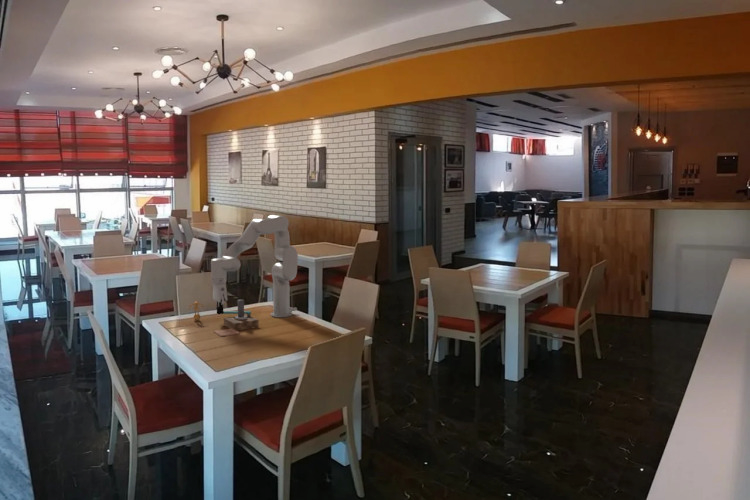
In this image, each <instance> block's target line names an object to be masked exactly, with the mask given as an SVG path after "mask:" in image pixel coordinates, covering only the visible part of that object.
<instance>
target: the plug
mask: <svg viewBox="0 0 750 500" xmlns="http://www.w3.org/2000/svg"><path fill="white" fill-rule="evenodd" d="M237 311H238V314H237V315H235V316H236V317H235V316H234V317H235V319H236V320H237V321H241V320H245V319H247V316H244V315H245V314H244V311H245V300H244V299H237Z"/></svg>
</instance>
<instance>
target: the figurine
mask: <svg viewBox="0 0 750 500" xmlns="http://www.w3.org/2000/svg"><path fill="white" fill-rule="evenodd" d="M191 306H194V307H193V309H194V314H193V320H194V321H196V322H197V321H200V319H201V314H200V313H199V312H200V306H201V307H202V308H203V309H205V307H204V306H203V304H202V303H199V302H198V300H195V302H194V303H191V304H190V305H189V307H188V310H190V309H191ZM196 311H197V312H196Z"/></svg>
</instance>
